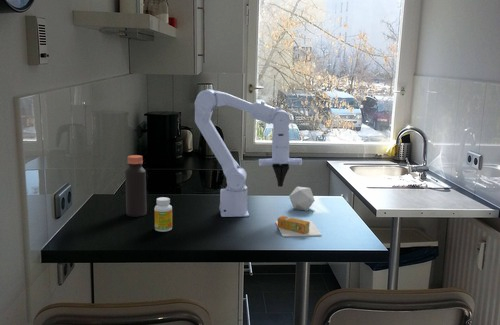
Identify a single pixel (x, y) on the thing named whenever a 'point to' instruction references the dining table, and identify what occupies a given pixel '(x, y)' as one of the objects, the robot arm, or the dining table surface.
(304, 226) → the supplement box
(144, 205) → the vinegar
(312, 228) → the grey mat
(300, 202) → the die
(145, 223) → the dining table surface
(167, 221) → the supplement bottle
